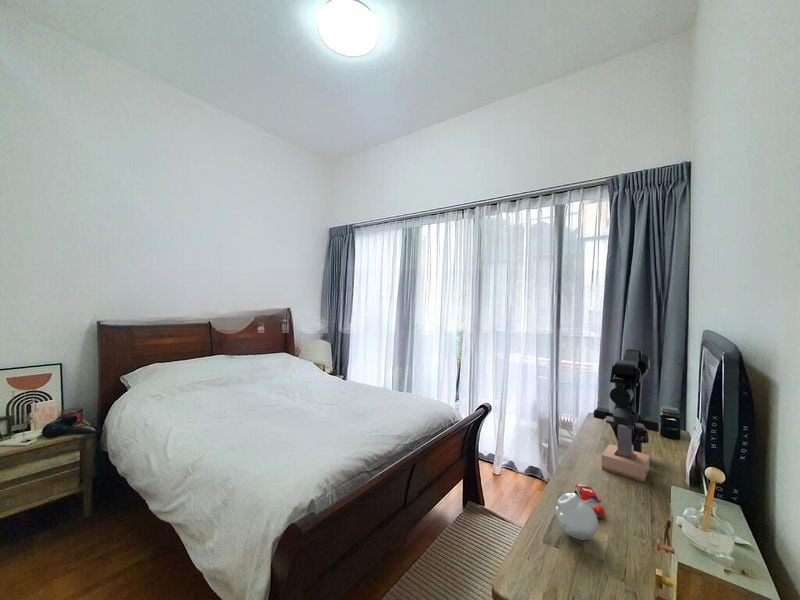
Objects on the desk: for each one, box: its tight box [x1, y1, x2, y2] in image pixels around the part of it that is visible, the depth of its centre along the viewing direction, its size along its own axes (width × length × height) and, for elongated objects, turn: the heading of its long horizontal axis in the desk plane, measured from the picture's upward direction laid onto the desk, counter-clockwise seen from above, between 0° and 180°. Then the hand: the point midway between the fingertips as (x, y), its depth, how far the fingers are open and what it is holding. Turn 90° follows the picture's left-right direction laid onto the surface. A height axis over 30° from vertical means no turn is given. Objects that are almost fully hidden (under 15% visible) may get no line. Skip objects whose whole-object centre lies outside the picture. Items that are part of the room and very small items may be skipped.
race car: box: [574, 483, 606, 520], centre depth 91 cm, size 13×5×4 cm, turn 162°
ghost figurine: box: [553, 492, 599, 541], centre depth 79 cm, size 9×10×10 cm
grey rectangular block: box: [617, 424, 634, 458], centre depth 111 cm, size 4×4×10 cm
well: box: [601, 443, 650, 484], centre depth 111 cm, size 12×12×5 cm
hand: (625, 442), depth 111 cm, fingers closed on grey rectangular block, 4 cm apart
